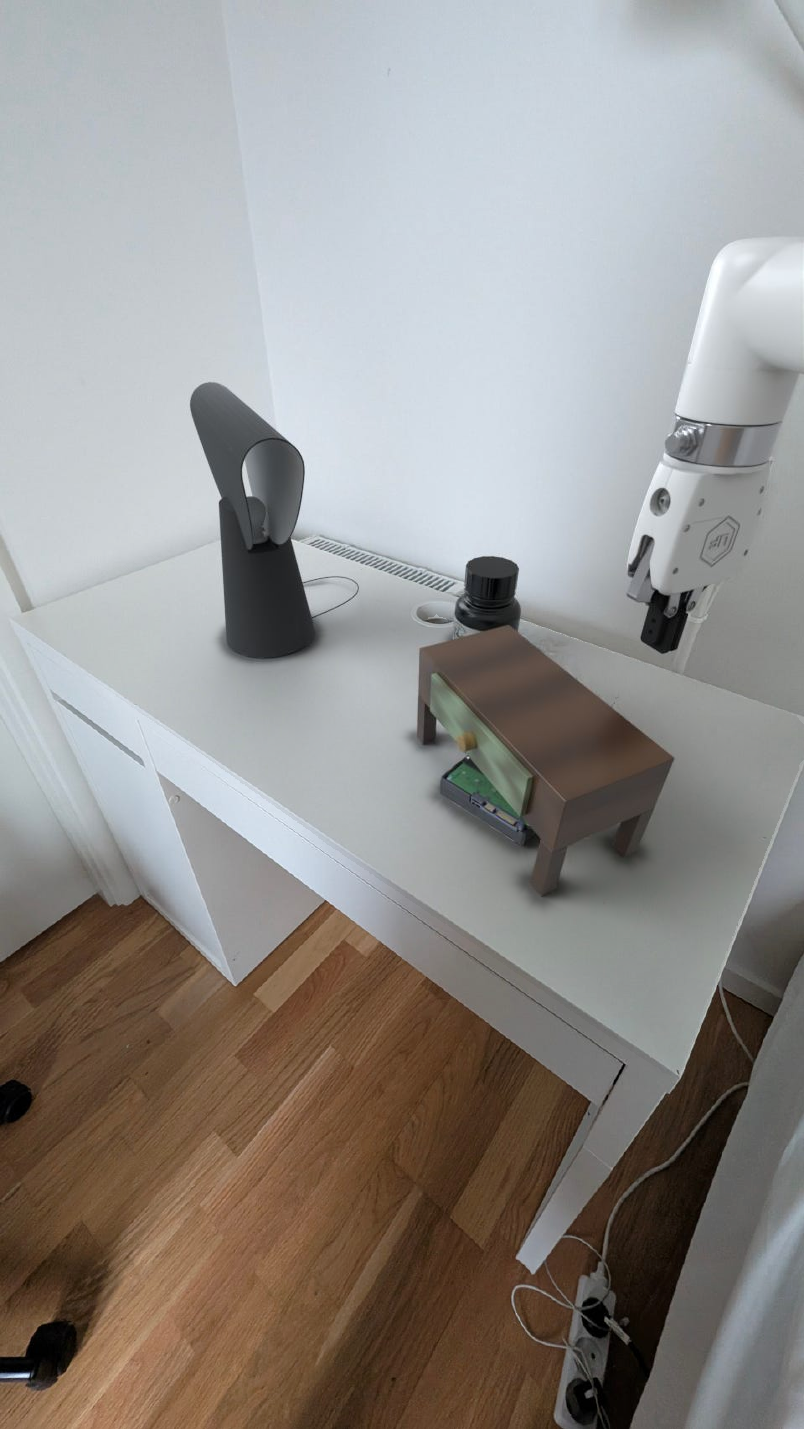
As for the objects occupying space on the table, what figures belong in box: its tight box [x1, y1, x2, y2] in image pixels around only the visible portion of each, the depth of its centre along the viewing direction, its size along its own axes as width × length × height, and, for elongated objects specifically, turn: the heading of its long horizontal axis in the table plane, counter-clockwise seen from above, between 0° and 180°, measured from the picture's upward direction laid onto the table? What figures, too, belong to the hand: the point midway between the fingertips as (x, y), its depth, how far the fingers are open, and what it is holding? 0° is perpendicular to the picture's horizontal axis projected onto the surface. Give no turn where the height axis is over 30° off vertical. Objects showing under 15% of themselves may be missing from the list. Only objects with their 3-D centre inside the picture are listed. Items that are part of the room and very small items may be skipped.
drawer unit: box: [416, 625, 675, 897], centre depth 56 cm, size 24×13×12 cm, turn 26°
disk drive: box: [439, 754, 536, 846], centre depth 60 cm, size 10×3×15 cm
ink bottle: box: [452, 555, 522, 640], centre depth 78 cm, size 10×9×12 cm
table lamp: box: [189, 381, 360, 659], centre depth 80 cm, size 40×28×30 cm
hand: (657, 645), depth 56 cm, fingers closed
